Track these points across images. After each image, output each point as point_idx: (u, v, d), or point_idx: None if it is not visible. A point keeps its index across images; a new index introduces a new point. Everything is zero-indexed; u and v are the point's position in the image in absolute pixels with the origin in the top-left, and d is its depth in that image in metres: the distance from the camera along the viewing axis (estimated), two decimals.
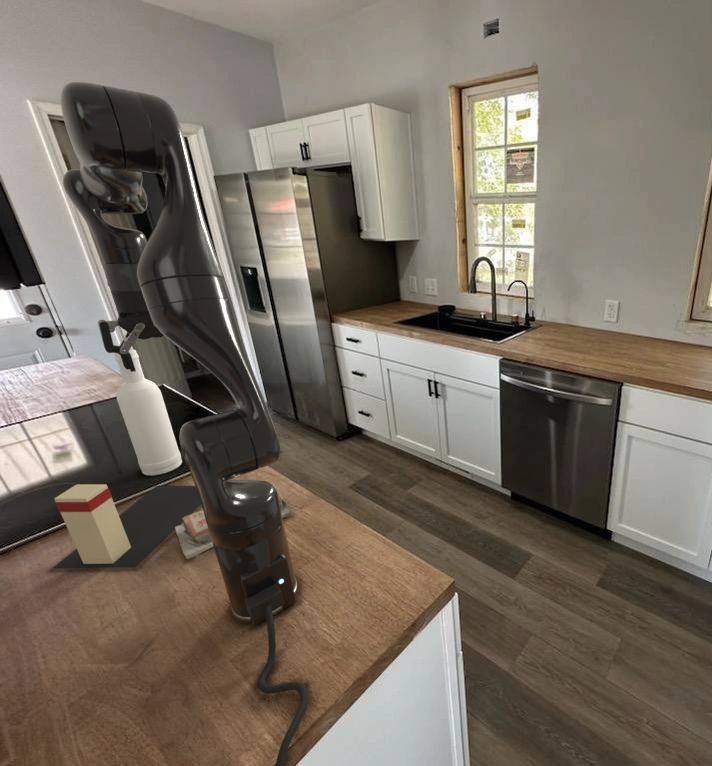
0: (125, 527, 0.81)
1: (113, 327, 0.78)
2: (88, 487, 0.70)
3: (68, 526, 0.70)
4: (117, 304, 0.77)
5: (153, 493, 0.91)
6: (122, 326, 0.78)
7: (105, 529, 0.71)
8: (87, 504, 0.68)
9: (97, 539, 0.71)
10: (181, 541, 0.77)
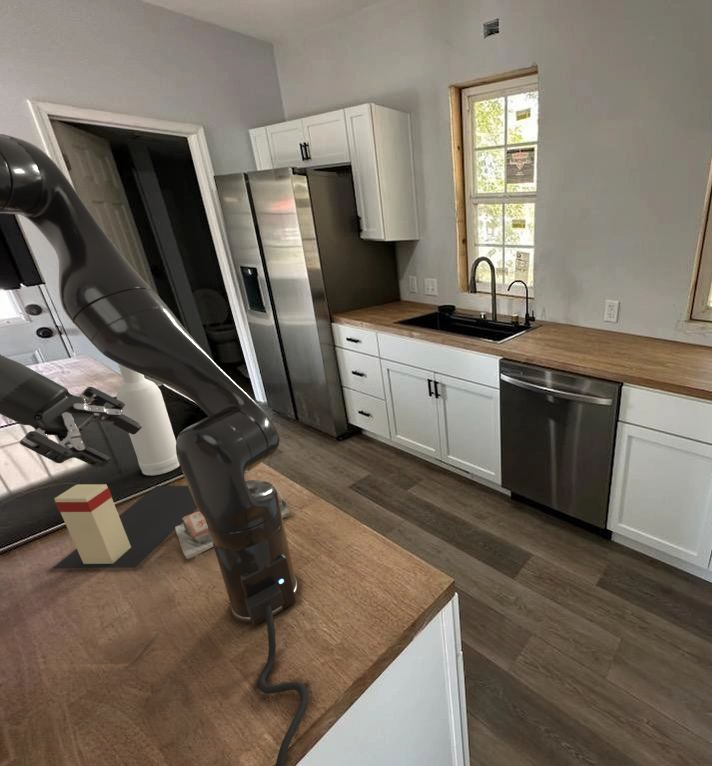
0: (125, 527, 0.81)
1: (43, 434, 0.65)
2: (88, 487, 0.70)
3: (68, 526, 0.70)
4: (21, 410, 0.64)
5: (153, 493, 0.91)
6: (50, 427, 0.65)
7: (105, 529, 0.71)
8: (87, 504, 0.68)
9: (97, 539, 0.71)
10: (181, 541, 0.77)
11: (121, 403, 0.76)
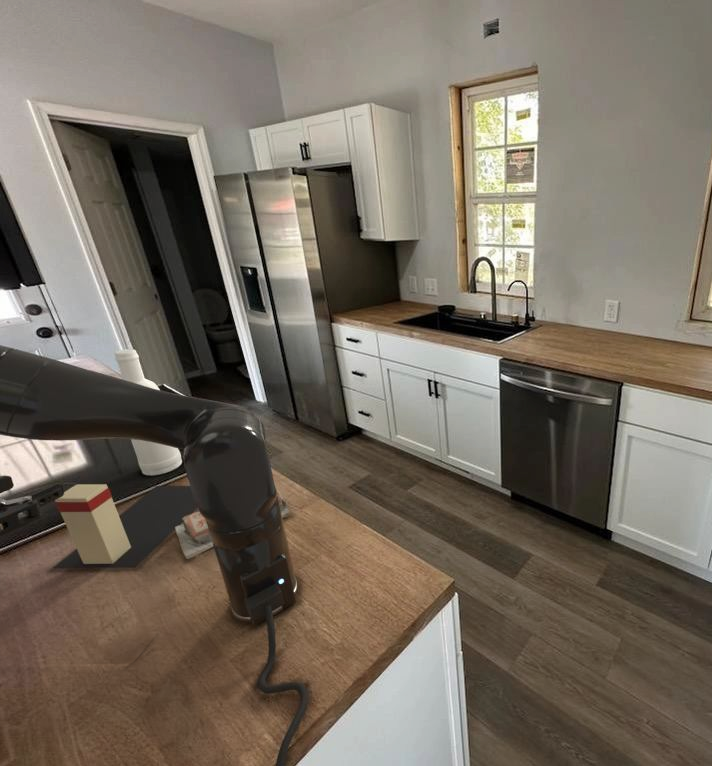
0: (125, 527, 0.81)
1: None
2: (88, 487, 0.70)
3: (68, 526, 0.70)
4: None
5: (153, 493, 0.91)
6: None
7: (105, 529, 0.71)
8: (87, 504, 0.68)
9: (97, 539, 0.71)
10: (181, 541, 0.77)
11: None
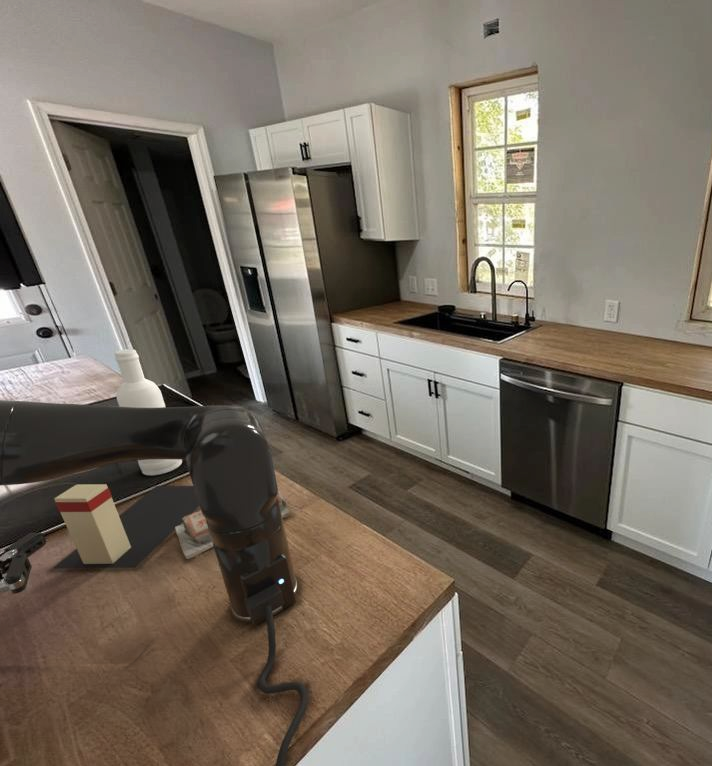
0: (125, 527, 0.81)
1: (1, 582, 0.55)
2: (88, 487, 0.70)
3: (68, 526, 0.70)
4: None
5: (153, 493, 0.91)
6: None
7: (105, 529, 0.71)
8: (87, 504, 0.68)
9: (97, 539, 0.71)
10: (181, 541, 0.77)
11: None
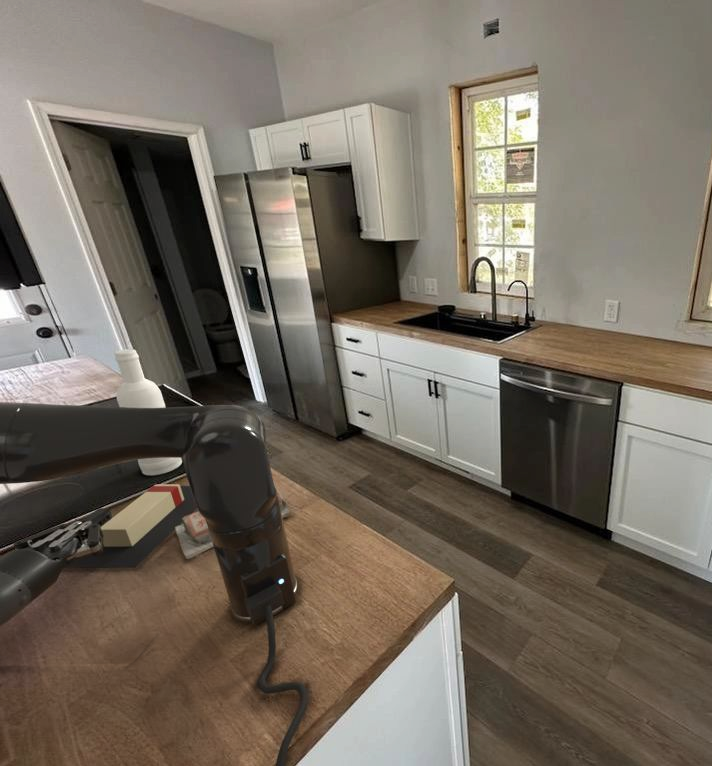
0: None
1: (83, 546, 0.66)
2: None
3: (135, 500, 0.83)
4: (42, 569, 0.60)
5: None
6: (72, 549, 0.64)
7: (155, 509, 0.82)
8: (174, 487, 0.87)
9: (144, 509, 0.80)
10: (181, 541, 0.77)
11: (60, 525, 0.69)
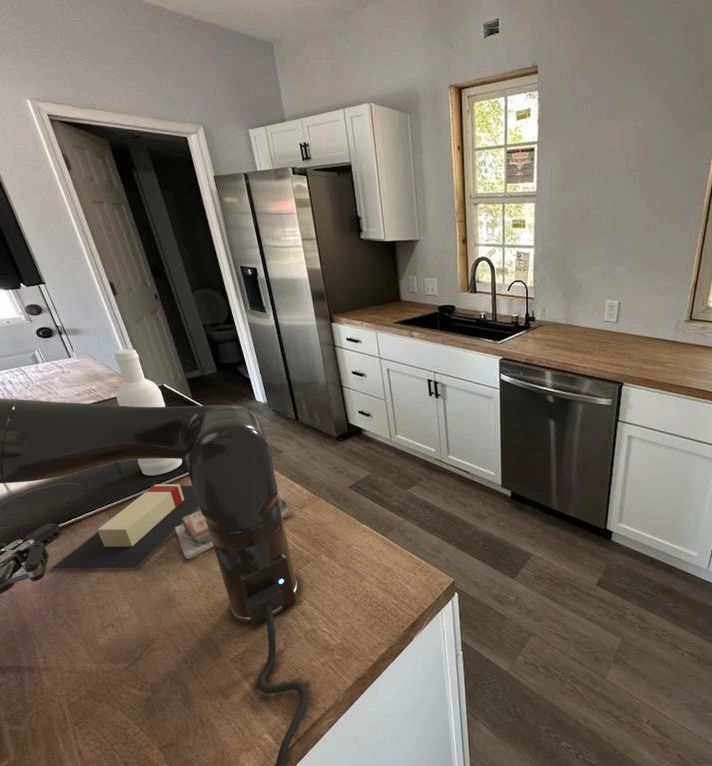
0: None
1: (20, 570, 0.57)
2: None
3: (135, 500, 0.83)
4: None
5: None
6: (6, 574, 0.56)
7: (155, 509, 0.82)
8: (174, 487, 0.87)
9: (144, 509, 0.80)
10: (181, 541, 0.77)
11: None
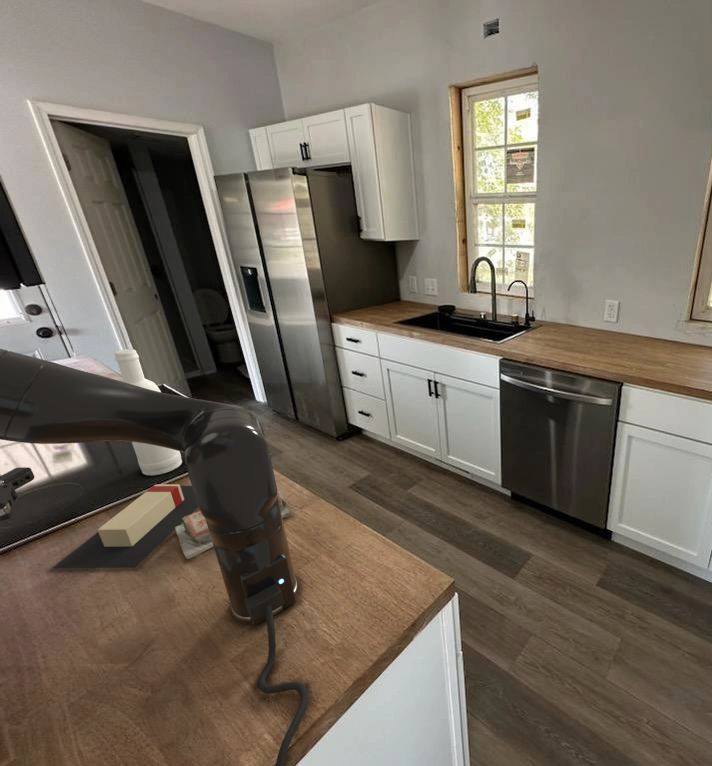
0: None
1: None
2: None
3: (135, 500, 0.83)
4: None
5: None
6: None
7: (155, 509, 0.82)
8: (174, 487, 0.87)
9: (144, 509, 0.80)
10: (181, 541, 0.77)
11: None
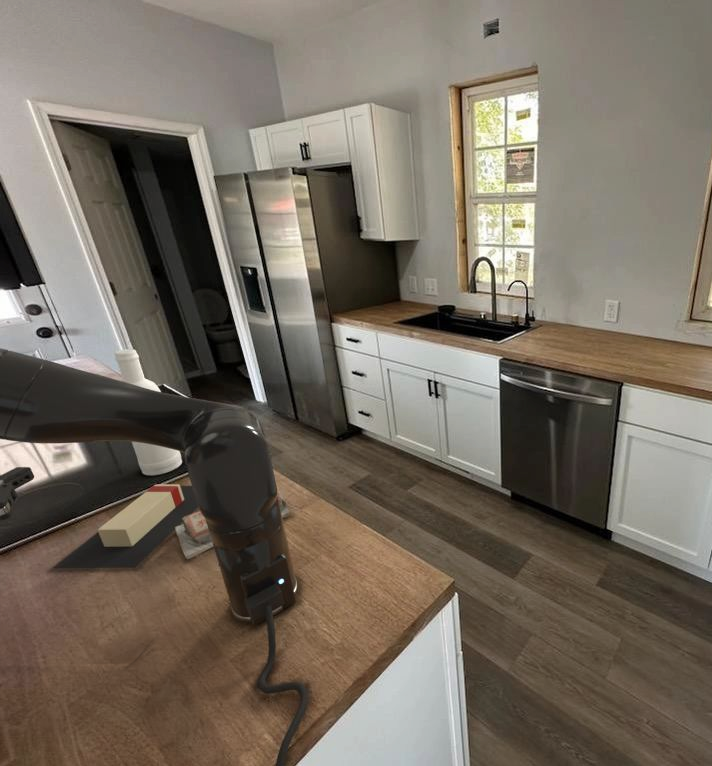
0: None
1: None
2: None
3: (135, 500, 0.83)
4: None
5: None
6: None
7: (155, 509, 0.82)
8: (174, 487, 0.87)
9: (144, 509, 0.80)
10: (181, 541, 0.77)
11: None
